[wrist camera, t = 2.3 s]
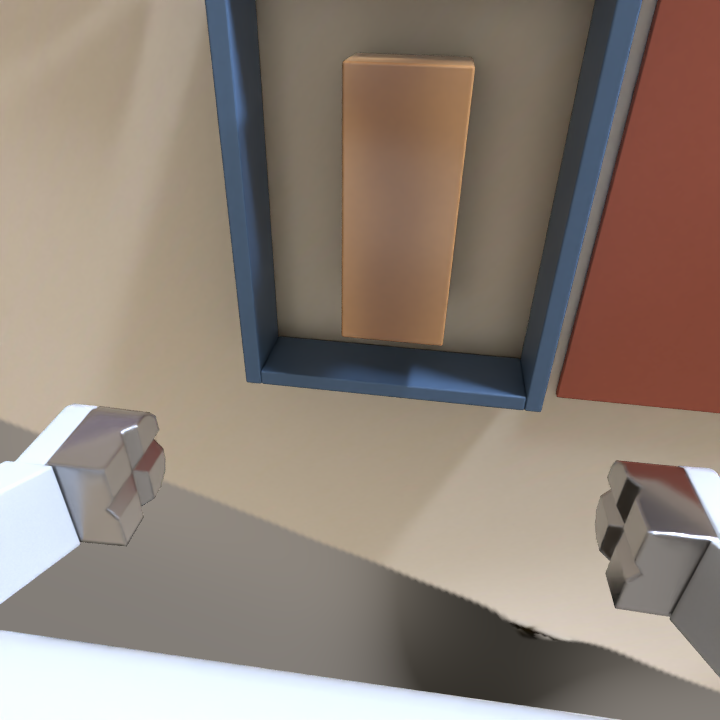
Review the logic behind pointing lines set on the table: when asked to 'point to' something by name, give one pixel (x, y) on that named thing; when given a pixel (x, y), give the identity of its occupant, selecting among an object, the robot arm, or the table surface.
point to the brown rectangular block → (401, 191)
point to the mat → (659, 233)
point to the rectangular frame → (393, 364)
